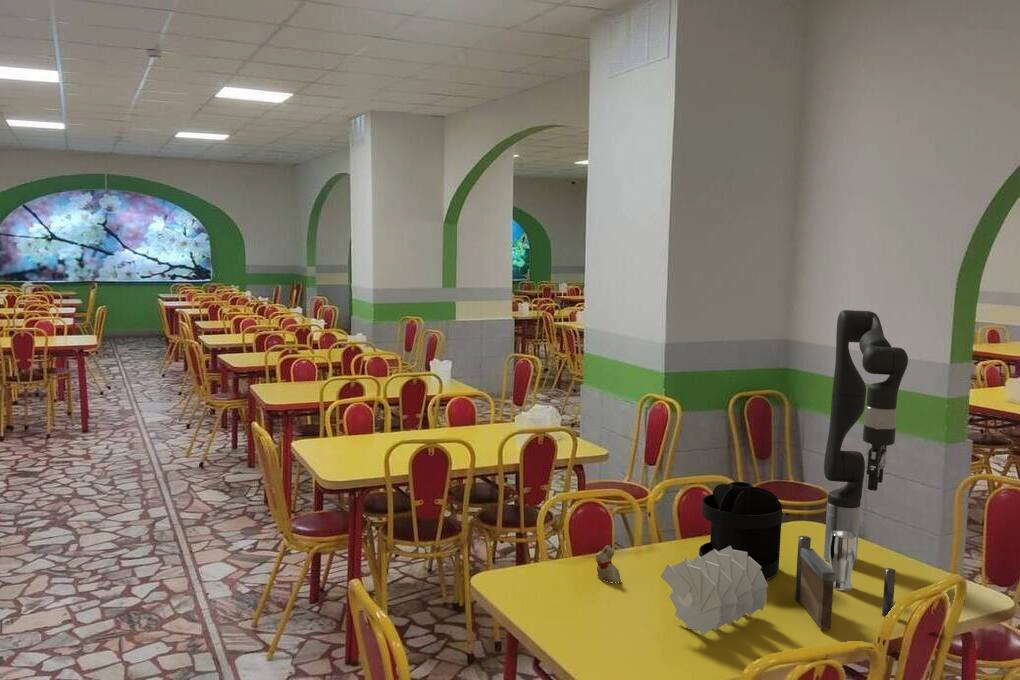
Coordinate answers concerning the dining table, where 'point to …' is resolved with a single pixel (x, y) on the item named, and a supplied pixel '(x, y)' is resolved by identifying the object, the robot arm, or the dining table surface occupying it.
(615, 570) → the chocolate bunny
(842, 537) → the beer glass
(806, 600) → the gate
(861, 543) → the dining table surface
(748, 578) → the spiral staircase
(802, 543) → the gate posts
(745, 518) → the container
